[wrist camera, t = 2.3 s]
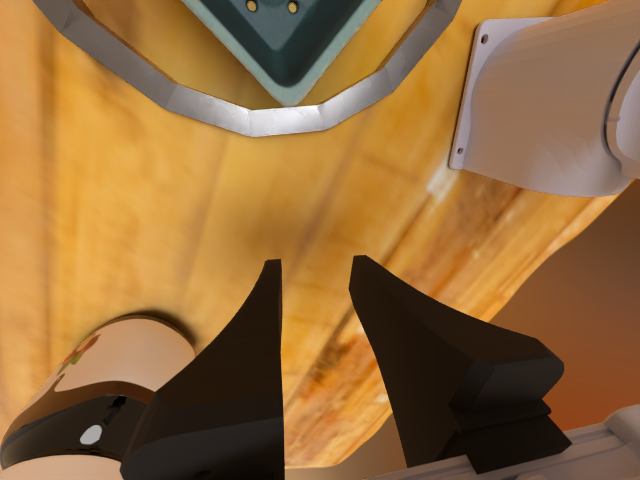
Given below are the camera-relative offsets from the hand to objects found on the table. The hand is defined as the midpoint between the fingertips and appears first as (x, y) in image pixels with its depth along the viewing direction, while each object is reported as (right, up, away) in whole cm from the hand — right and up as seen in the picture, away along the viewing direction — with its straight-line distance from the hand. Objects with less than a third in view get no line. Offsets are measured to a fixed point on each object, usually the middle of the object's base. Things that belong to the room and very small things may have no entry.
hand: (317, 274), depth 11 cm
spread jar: (-18, -10, +13) cm, 24 cm away
